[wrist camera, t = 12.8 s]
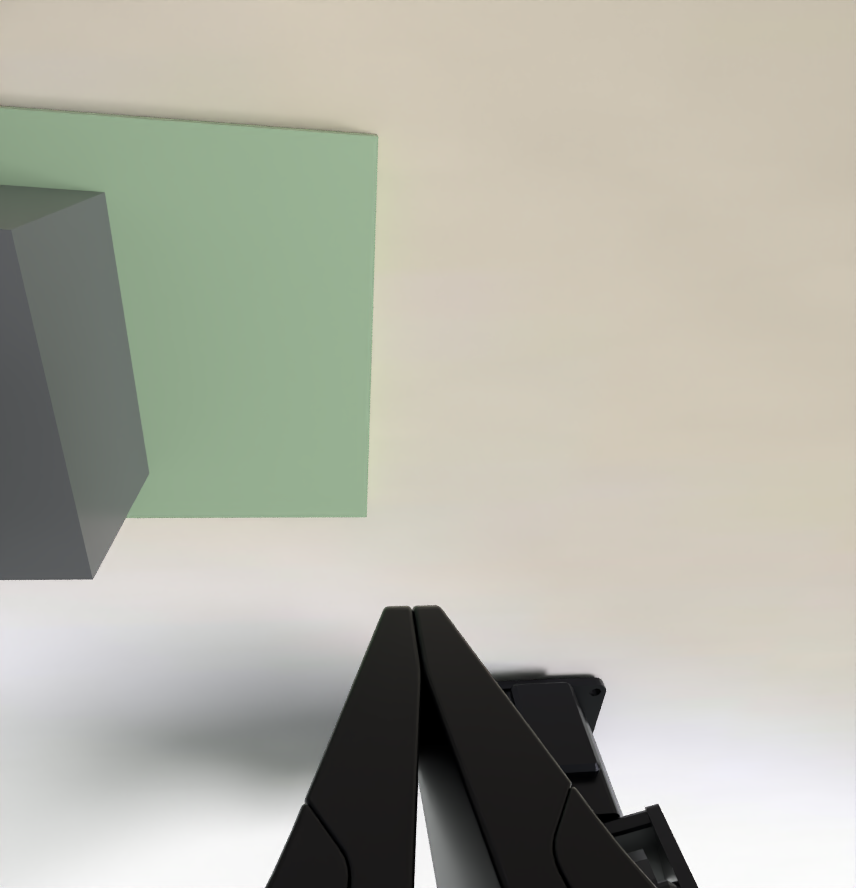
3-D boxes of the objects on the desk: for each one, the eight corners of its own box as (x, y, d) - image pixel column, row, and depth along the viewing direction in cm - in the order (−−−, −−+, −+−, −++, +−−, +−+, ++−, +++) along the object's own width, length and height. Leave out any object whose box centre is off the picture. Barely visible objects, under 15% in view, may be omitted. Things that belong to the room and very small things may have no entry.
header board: (366, 500, 22) (369, 597, 18) (11, 500, 21) (-77, 606, 17) (376, 134, 17) (385, 149, 12) (-114, 97, 15) (-300, 98, 11)
